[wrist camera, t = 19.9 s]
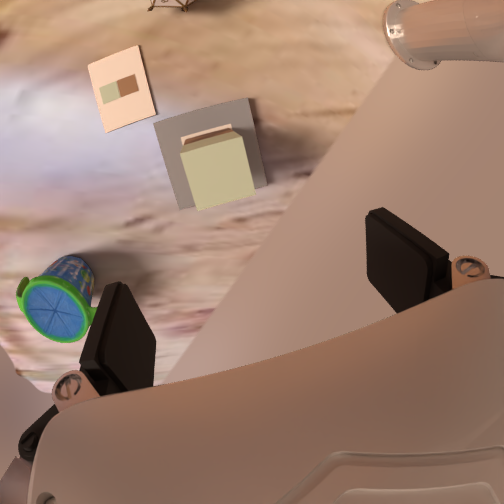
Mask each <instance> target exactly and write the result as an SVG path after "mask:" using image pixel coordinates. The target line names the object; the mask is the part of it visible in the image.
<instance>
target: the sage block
mask: <svg viewBox="0 0 504 504" xmlns="http://www.w3.org/2000/svg"><path fill="white" fill-rule="evenodd" d="M180 156H181V159H182V163H183V166H184V169H185V173H186V176H187V179H188V182H189V186H190V189H191V192H192V195H193V199H194V202H195V205H196V208H197V211H200V210H203V209H207V208H210V207H213V206H217V205H220V204H224V203H227V202H231V201H234V200H238V199H242V198H245V197H249V196H253V195H256V193H255V189H254V184H253V180H252V176H251V172H250V167H249V163H248V159H247V155H246V151H245V147H244V142H243V138H242V136H240V135H239V134H237V133H236V132H234V131H233V132H229V133H225V134H221V135H217V136H214V137H210V138H207V139H203V140H199V141H196V142H193V143H189V144H186V145H183V146H182V149H181V152H180Z"/></svg>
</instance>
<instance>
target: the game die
mask: <svg viewBox="0 0 504 504" xmlns="http://www.w3.org/2000/svg"><path fill="white" fill-rule="evenodd" d="M195 1H196V0H151V4H152V6H151V7H150V8H148V11H152V9H153V7H182V8H181V9H182V11H184V12H187V11H188V7H187V6H188V5H190V4H191V3H193V2H195Z"/></svg>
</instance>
